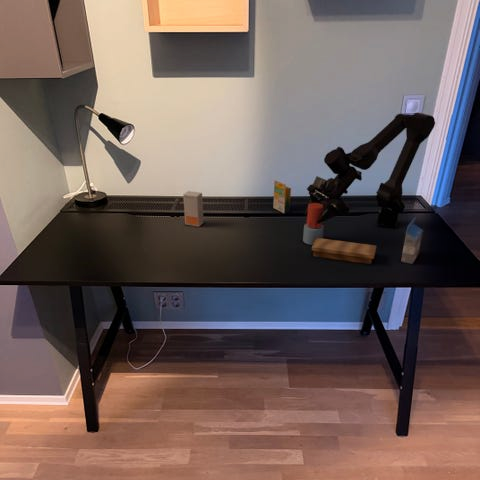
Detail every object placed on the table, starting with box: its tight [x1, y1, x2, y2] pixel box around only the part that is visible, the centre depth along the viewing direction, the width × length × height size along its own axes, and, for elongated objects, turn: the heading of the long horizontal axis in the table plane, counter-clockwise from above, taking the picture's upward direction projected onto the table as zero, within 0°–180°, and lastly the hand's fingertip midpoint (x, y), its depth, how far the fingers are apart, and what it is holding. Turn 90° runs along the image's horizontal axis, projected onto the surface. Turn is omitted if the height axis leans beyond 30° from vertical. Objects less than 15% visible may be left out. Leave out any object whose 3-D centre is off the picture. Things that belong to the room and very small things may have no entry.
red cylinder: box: [305, 203, 324, 228], centre depth 157 cm, size 5×5×7 cm
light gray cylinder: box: [302, 223, 325, 246], centre depth 160 cm, size 7×7×8 cm
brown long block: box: [311, 238, 378, 265], centre depth 151 cm, size 20×8×4 cm, turn 71°
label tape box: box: [400, 216, 424, 265], centre depth 147 cm, size 9×4×12 cm, turn 148°
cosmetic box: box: [182, 190, 205, 228], centre depth 172 cm, size 6×4×12 cm
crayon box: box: [272, 180, 292, 214], centre depth 183 cm, size 7×3×12 cm, turn 34°
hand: (311, 218), depth 157 cm, fingers open, 7 cm apart
